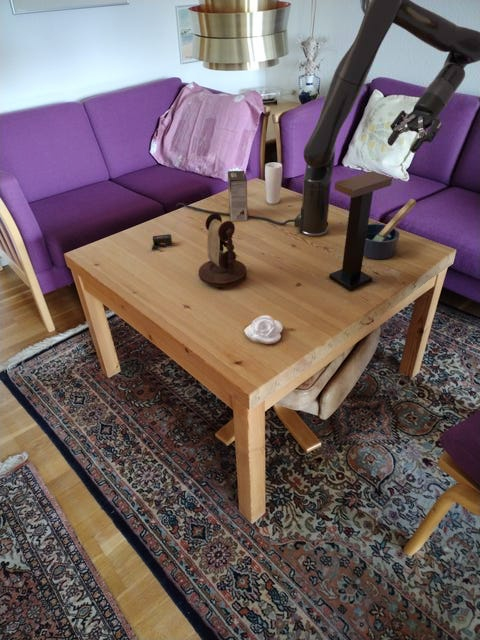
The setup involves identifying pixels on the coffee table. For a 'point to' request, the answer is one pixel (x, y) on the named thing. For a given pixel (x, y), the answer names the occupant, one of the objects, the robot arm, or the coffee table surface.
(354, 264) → the headphone stand
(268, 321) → the rose
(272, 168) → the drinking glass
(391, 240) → the bowl
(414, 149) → the robot arm
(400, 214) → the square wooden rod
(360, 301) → the coffee table surface
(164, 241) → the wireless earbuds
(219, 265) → the scroll
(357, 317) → the coffee table surface
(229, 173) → the coffee box
